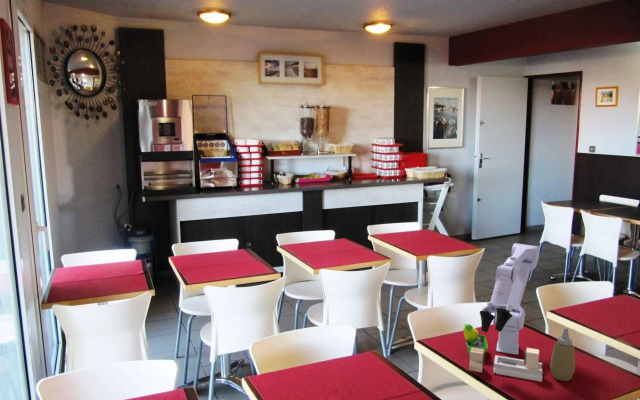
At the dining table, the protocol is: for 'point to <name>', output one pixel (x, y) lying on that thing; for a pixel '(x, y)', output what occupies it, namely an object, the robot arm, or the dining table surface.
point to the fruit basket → (474, 338)
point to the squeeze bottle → (563, 358)
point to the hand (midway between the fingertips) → (490, 331)
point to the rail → (520, 366)
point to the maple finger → (476, 359)
